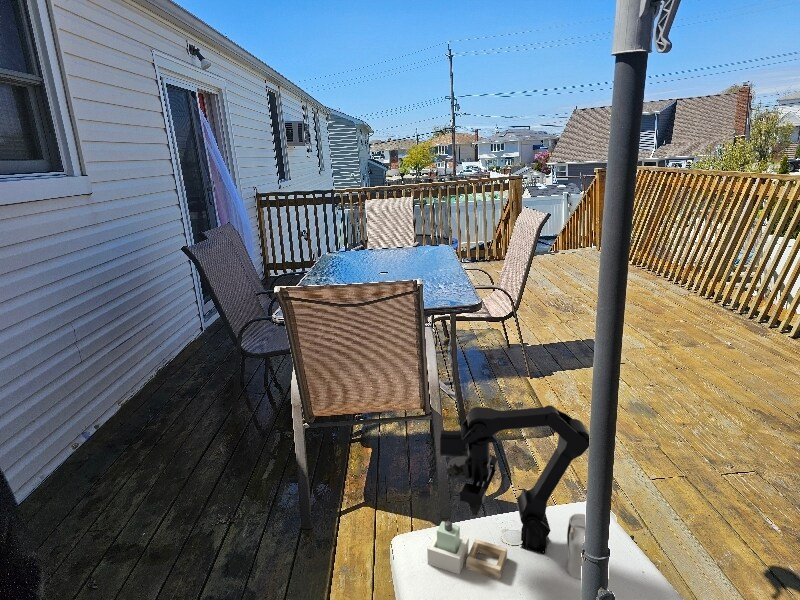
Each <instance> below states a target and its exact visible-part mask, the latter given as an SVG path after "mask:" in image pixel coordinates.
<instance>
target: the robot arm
mask: <svg viewBox="0 0 800 600" xmlns="http://www.w3.org/2000/svg"><path fill="white" fill-rule="evenodd" d="M459 427H460V428H459V429H460V430H446V429H445V430H440V437H439V449H440V450H439V451H440V453H439V454H440V457H452V458H450V459H449V462H448V463H447V465H446V475H447V476H448V477H449V479H454V478H455V479H456V478H459V477H461V476H464V479H467V480H469V479H470V480H471V481H473V483H469V482H465V483H463V484H462V485H461V487H460V489H459V491H458V500H459V501H460V502H463V503H464V502H465V503H467V504H468V506H469V509H470V511H471V514H472V515H473V516H476V517H477V516H478V514H479V512H480V510H481V508H482V506H483V504H484V502H485V499H486V494H487V491H488V489H489V487H490V485H491V482H492V480H493V478H494V476H495V474H496V470H497V467H498V465H499V463H498V462H499V461H498V458H497V457H496V456H495V455H492V454H491V452H490V450H491V449H490V448H491V447H490V446H491V445H490V444H495V443H498V438H497V434H498V433H499V432H501V431H505V430H507V431H508V430H518V429H528V428H529V429H530V428H540V427H541V428H542V427H550V428H551V429H552V430H554V431H555V433H556V434H558V439H557V446H556V448H555V451H553V454H552V455H551V457H550V459H549V460H548V462H547V463H546V465H545V467H544V468H543V470H542V472H541V474H540V476H539V477H538V478H537V480H536V482H535V484H534V486H533V487H532V488H530V489H528V490H527V489H526V488H522V489H521V492H520V495H518V496H517V497H516V500H517V501H516V505H517V509H518V513H519V518H520V522H521V524H522V525H521V531H520V532H521V533H520V534H521V535H520V541H521V547H520V548H521V549H525V550H529V551H532V552H535V553H539V554H542V555H546V552H547V548H548V545H549V538H550V537H549V535H550V534H551V531H552V530H551V527H550V524H549V521H548V517H547V514H546V513H547V512H546V511H547V504H548V501H549V499H550V497H551V496H552V494H553V492H554V491H555V489H556V487H557V485H559V483H560V481H561V479H562V477H563V476H564V474H565V473H566V471H567V470H568V468H569V466H570V465H571V463H572V461H573V460H575V459H577V458H579V457H581V456H582V455H583V454H584V453H585V452H586V451H587V450H588V449H589V447H590V446H589V436H590V434H589V433H588V430H587V429H586V426H585V425H584V423H583V422H582V421H581V420H579V419H577V418H573V417H571V416H570V415H569V414H567V413H565V412H563V411H561V410H559V409H557V408H556V407H555V406H553V405H549V404H547V405H545V406H542V407H529V408H518V409H510V410H509V409H508V410H507V409H506V410H498V409H495V408H491V407H483V406H482V407H481V406H475V407H472V408H470V410H469V411H468V413H467V414H466V418H465V419H464V420H463V422H462V423H461V424H460V426H459ZM466 444H467V450H466ZM466 451H467V456H465V455H464V453H466Z"/></svg>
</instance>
